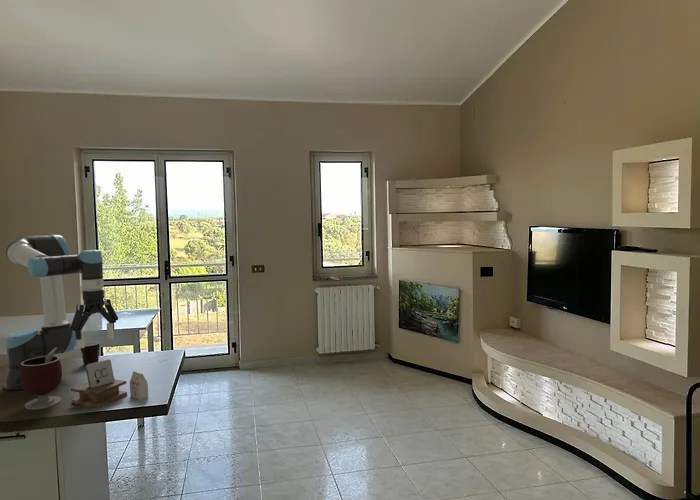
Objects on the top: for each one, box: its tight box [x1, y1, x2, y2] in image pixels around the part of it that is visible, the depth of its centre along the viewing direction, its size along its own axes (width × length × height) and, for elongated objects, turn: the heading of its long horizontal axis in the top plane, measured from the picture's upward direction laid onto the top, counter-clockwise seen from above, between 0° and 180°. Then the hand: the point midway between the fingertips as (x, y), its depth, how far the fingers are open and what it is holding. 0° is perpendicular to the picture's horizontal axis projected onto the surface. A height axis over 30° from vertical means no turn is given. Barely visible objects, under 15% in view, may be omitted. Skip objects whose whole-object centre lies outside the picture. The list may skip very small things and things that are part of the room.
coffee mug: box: [80, 341, 100, 367], centre depth 250 cm, size 12×9×10 cm
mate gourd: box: [20, 348, 63, 411], centre depth 199 cm, size 16×14×20 cm
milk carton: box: [129, 370, 149, 401], centre depth 204 cm, size 4×7×10 cm, turn 53°
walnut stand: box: [70, 378, 128, 409], centre depth 202 cm, size 14×14×6 cm
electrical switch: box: [84, 358, 115, 388], centre depth 202 cm, size 9×5×9 cm, turn 142°
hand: (96, 343), depth 200 cm, fingers open, 13 cm apart
